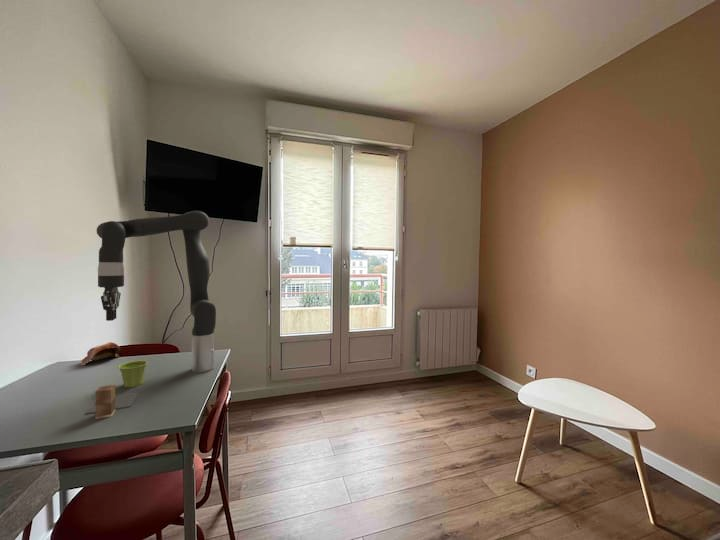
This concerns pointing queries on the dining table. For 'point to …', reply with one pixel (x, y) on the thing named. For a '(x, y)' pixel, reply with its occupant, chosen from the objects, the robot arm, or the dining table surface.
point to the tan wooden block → (105, 401)
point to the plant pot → (133, 373)
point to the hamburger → (102, 352)
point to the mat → (119, 402)
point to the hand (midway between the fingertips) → (111, 319)
